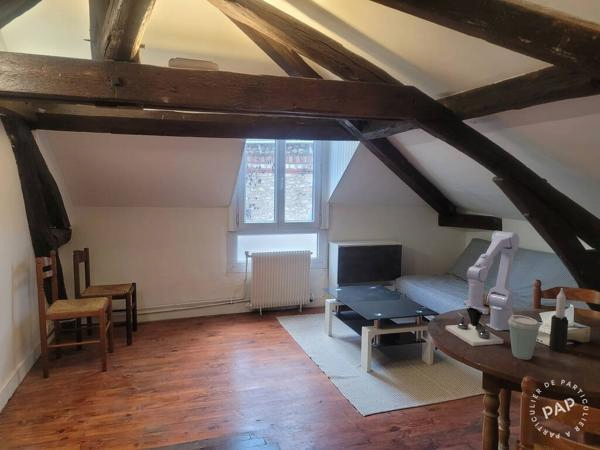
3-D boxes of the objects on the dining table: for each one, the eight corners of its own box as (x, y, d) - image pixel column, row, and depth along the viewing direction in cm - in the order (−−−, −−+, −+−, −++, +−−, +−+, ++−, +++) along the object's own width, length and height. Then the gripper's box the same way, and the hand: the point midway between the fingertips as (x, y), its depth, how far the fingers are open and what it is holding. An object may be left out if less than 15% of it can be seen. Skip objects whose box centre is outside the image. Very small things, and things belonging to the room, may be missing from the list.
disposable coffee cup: (537, 354, 160) (540, 316, 159) (538, 364, 151) (541, 324, 149) (506, 349, 165) (509, 312, 164) (505, 358, 156) (508, 320, 154)
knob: (469, 329, 182) (470, 319, 182) (459, 328, 182) (460, 318, 182) (461, 321, 192) (462, 312, 192) (452, 321, 192) (452, 312, 192)
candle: (563, 348, 166) (567, 287, 164) (566, 352, 162) (571, 290, 159) (548, 346, 168) (553, 285, 166) (551, 351, 163) (556, 288, 161)
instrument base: (473, 326, 190) (473, 322, 190) (503, 343, 171) (503, 338, 171) (445, 328, 187) (445, 324, 187) (472, 345, 168) (473, 340, 168)
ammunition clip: (499, 314, 209) (500, 291, 208) (500, 315, 207) (501, 292, 206) (476, 313, 211) (477, 290, 210) (477, 314, 209) (478, 290, 208)
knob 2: (491, 338, 171) (492, 328, 171) (481, 338, 171) (481, 328, 171) (481, 330, 181) (482, 320, 180) (471, 330, 181) (472, 320, 180)
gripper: (457, 290, 183) (456, 320, 184) (478, 299, 169) (476, 332, 170) (471, 289, 184) (470, 319, 186) (493, 298, 170) (491, 330, 171)
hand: (474, 325), depth 178 cm, fingers closed
